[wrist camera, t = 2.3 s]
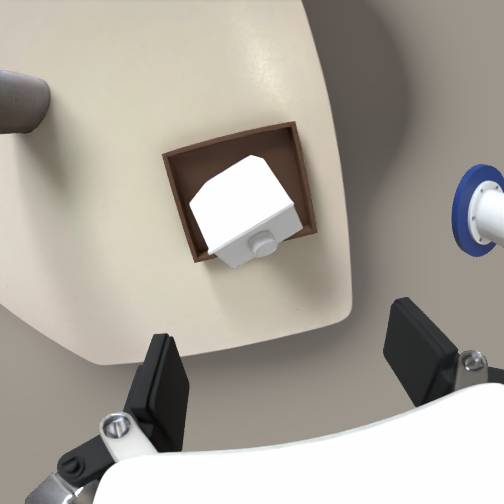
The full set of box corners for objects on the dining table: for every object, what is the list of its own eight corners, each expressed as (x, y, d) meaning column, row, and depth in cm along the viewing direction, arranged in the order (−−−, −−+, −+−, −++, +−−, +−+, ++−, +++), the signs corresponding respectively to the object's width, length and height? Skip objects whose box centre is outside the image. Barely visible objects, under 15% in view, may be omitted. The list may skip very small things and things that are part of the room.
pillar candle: (30, 143, 32) (-33, 151, 18) (4, 117, 30) (-54, 119, 16) (60, 92, 30) (-2, 80, 16) (31, 69, 28) (-26, 55, 14)
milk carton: (205, 182, 37) (180, 214, 19) (250, 154, 36) (268, 159, 18) (233, 225, 39) (234, 291, 22) (277, 198, 39) (316, 244, 21)
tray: (290, 123, 35) (295, 121, 33) (311, 226, 41) (317, 232, 38) (167, 153, 36) (161, 154, 33) (196, 255, 41) (194, 263, 38)
